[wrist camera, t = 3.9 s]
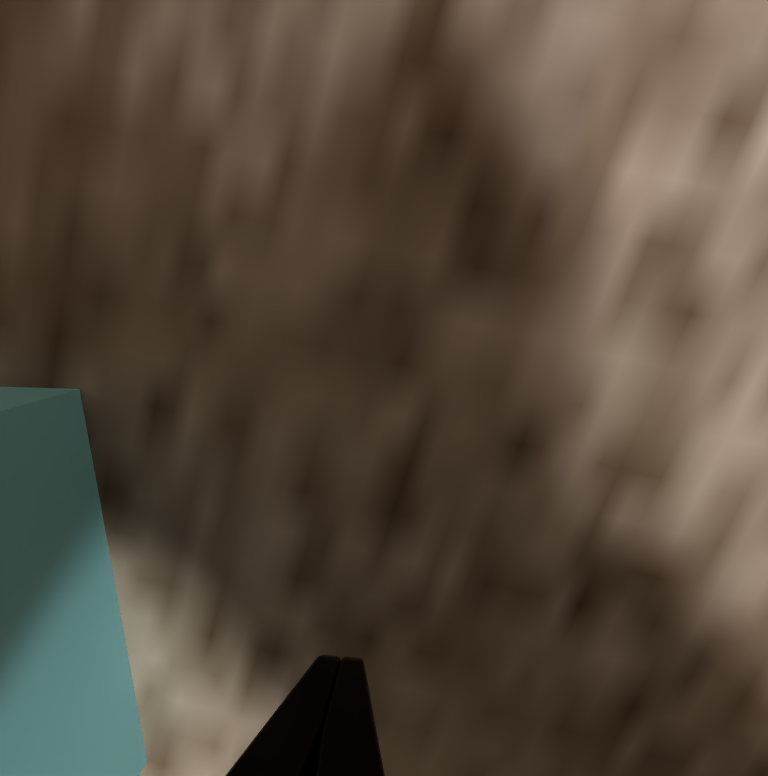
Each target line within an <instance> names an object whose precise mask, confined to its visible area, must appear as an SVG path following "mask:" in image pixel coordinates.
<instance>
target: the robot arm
mask: <svg viewBox="0 0 768 776" xmlns="http://www.w3.org/2000/svg"><path fill="white" fill-rule="evenodd" d="M226 776H385V775H384V770H383V764H382V759H381V753H380V748H379V743H378V737H377V732H376V726H375V721H374V715H373V710H372V704H371V699H370V693H369V688H368V682H367V677H366V671H365V666H364V662H363V660H362V659H361V658H354V657H343V658H342V659H341V658H340V657H338V656H332V655H320V656H318V657H317V659H316V660H315V661H314V662H313V664H312V665H311V666H310V668H309V669H308V670H307V671H306V673H305V674H304V675H303V677H302V678H301V679H300V680H299V682H298V683H297V684H296V686H295V687H294V688H293V689H292V691H291V692H290V693H289V695H288V696H287V697H286V698H285V700H284V701H283V702H282V704H281V705H280V706H279V707H278V709H277V710H276V711H275V713H274V714H273V715H272V717H271V718H270V719H269V720H268V722H267V723H266V724H265V726H264V727H263V728H262V729H261V731H260V732H259V733H258V735H257V736H256V737H255V738H254V740H253V741H252V742H251V744H250V745H249V746H248V747H247V749H246V750H245V751H244V753H243V754H242V755H241V757H240V758H239V759H238V760H237V762H236V763H235V764H234V766H233V767H232V768H231V769H230V771H229V772H228V773H227V775H226Z"/></svg>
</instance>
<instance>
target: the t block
mask: <svg viewBox="0 0 768 776" xmlns="http://www.w3.org/2000/svg"><path fill="white" fill-rule="evenodd" d="M146 762H147V757H146V752H145V746H144V741H143V735H142V730H141V724H140V719H139V713H138V708H137V702H136V697H135V691H134V686H133V680H132V675H131V669H130V664H129V658H128V653H127V647H126V642H125V636H124V631H123V625H122V620H121V614H120V609H119V603H118V598H117V592H116V587H115V581H114V576H113V570H112V565H111V559H110V554H109V548H108V542H107V537H106V531H105V526H104V520H103V515H102V509H101V504H100V498H99V493H98V487H97V482H96V476H95V471H94V465H93V460H92V454H91V449H90V443H89V438H88V432H87V427H86V421H85V416H84V410H83V405H82V399H81V394H80V389H66V388H33V387H0V776H139V775H140V773H141V771H142V769H143V768H144V766H145V764H146Z"/></svg>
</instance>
